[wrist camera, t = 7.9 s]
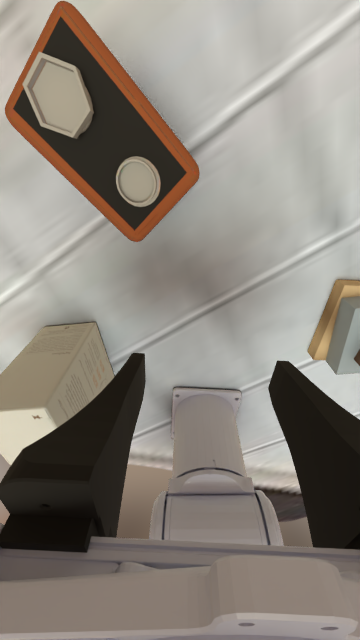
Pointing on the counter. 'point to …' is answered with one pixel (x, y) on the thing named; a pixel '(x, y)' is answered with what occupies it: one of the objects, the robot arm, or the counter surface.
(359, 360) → the walnut block
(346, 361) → the gray slab
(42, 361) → the small box
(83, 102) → the battery
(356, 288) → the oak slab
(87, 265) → the counter surface
